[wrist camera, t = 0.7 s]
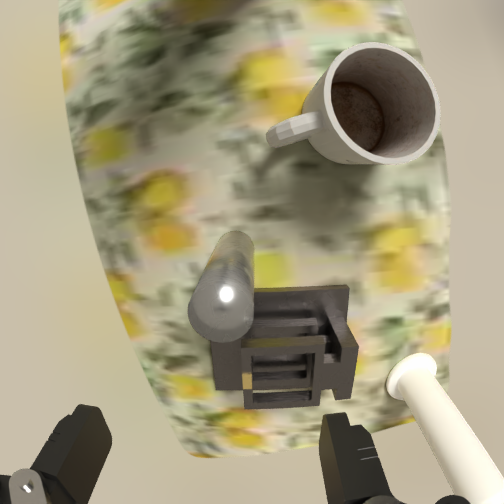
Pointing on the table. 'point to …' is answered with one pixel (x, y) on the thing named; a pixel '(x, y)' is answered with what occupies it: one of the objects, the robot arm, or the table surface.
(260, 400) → the bracket
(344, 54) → the mug
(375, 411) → the table surface
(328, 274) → the table surface
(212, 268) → the tube
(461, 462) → the candle
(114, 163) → the table surface
